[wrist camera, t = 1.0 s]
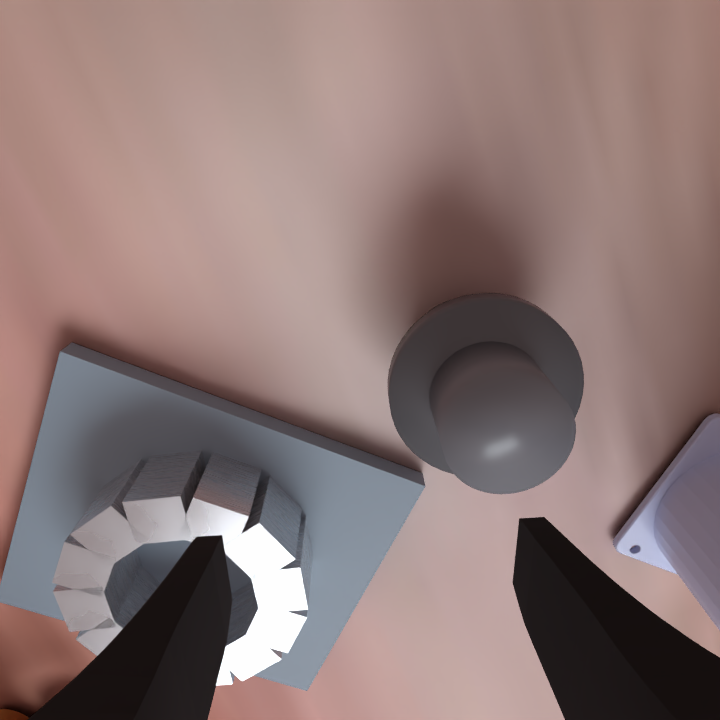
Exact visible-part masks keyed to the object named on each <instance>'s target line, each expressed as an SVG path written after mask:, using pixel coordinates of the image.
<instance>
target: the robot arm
mask: <svg viewBox="0 0 720 720" xmlns="http://www.w3.org/2000/svg"><path fill="white" fill-rule="evenodd" d="M613 545H614V547H615V549H616V550H617V551H618V552H619V553H621V554H624V555H627V556H629V557H632V558H635V559H637V560H640V561H643V562H645V563H648V564H651V565H654V566H656V567H659V568H662V569H664V570H667V571H670V572H672V573H675V574H678V575H679V577H680V578H681V579H682V581H683V582H684V583H685V585H686V586H687V587H688V589H689V590H690V591H691V593H692V594H693V595H694V597H695V598H696V599H697V601H698V602H699V604H700V605H701V606H702V608H703V609H704V610H705V612H706V613H707V614H708V616H709V617H710V618H711V620H712V621H713V622H714V624H715V625H716V626H717V628H718V629H719V630H720V414H718V413H716V414H711V415H709V416H708V417H707V418H705V419H704V421H703V422H702V423H701V425H700V426H699V427H698V429H697V430H696V431H695V433H694V434H693V435H692V436H691V438H690V439H689V440H688V442H687V443H686V444H685V446H684V447H683V448H682V450H681V451H680V452H679V454H678V455H677V456H676V458H675V459H674V460H673V461H672V463H671V464H670V465H669V467H668V468H667V469H666V471H665V472H664V473H663V475H662V476H661V477H660V479H659V480H658V481H657V483H656V484H655V485H654V486H653V488H652V489H651V490H650V492H649V493H648V494H647V496H646V497H645V498H644V500H643V501H642V502H641V504H640V505H639V506H638V507H637V509H636V510H635V511H634V513H633V514H632V515H631V517H630V518H629V519H628V521H627V522H626V523H625V525H624V526H623V527H622V529H621V530H620V531H619V532H618V534H617V535H616V536H615V538H614V540H613ZM634 545H636V546H635V547H633V548H631V547H632V546H634ZM513 585H514V589H515V593H516V596H517V600H518V603H519V607H520V610H521V613H522V617H523V620H524V623H525V626H526V628H527V631H528V633H529V636H530V638H531V640H532V643H533V645H534V648H535V650H536V652H537V655H538V657H539V660H540V662H541V664H542V667H543V669H544V671H545V674H546V676H547V678H548V681H549V683H550V685H551V688H552V690H553V692H554V695H555V697H556V699H557V702H558V704H559V706H560V709H561V711H562V713H563V716H564V718H565V720H720V658H719V657H718V656H716V655H715V654H713V653H711V652H710V651H708V650H706V649H705V648H703V647H702V646H700V645H699V644H697V643H696V642H694V641H693V640H691V639H690V638H688V637H687V636H685V635H684V634H682V633H681V632H680V631H678V630H677V629H675V628H674V627H672V626H671V625H670V624H668V623H667V622H665V621H664V620H662V619H661V618H660V617H658V616H657V615H656V614H654V613H653V612H652V611H650V610H649V609H648V608H646V607H645V606H644V605H643V604H641V603H640V602H639V601H638V600H636V599H635V598H634V597H633V596H631V595H630V594H629V593H628V592H626V591H625V590H624V589H623V588H621V587H620V586H619V585H618V584H617V583H616V582H614V581H613V580H612V579H611V578H610V577H609V576H607V575H606V574H605V573H604V572H603V571H602V570H601V569H599V568H598V567H597V566H596V565H595V564H594V563H593V562H592V561H591V560H589V559H588V558H587V557H586V556H585V555H584V554H583V553H582V552H581V551H580V550H579V549H578V548H576V547H575V546H574V545H573V544H572V543H571V542H570V541H569V540H568V539H567V538H566V537H565V536H564V535H563V534H562V533H561V532H559V531H558V530H557V529H556V528H555V527H554V526H553V525H552V524H551V523H550V522H549V521H548V520H547V519H546V518H545V517H538V518H520V519H519V527H518V537H517V546H516V556H515V566H514V575H513ZM231 607H232V593H231V587H230V581H229V575H228V568H227V562H226V556H225V550H224V544H223V537H222V535H215V536H198V537H196V538H195V539H194V540H193V541H192V542H191V543H190V545H189V546H188V548H187V549H186V550H185V552H184V553H183V554H182V556H181V557H180V559H179V560H178V561H177V563H176V564H175V565H174V567H173V568H172V569H171V571H170V572H169V573H168V575H167V576H166V577H165V579H164V580H163V581H162V582H161V584H160V585H159V586H158V587H157V589H156V590H155V591H154V592H153V594H152V595H151V596H150V597H149V599H148V600H147V601H146V602H145V604H144V605H143V606H142V607H141V608H140V610H139V611H138V612H137V613H136V614H135V615H134V617H133V618H132V619H131V620H130V621H129V622H128V623H127V624H126V626H125V627H124V628H123V629H122V630H121V631H120V632H119V634H118V635H117V636H116V637H115V638H114V639H113V640H112V641H111V642H110V643H109V644H108V646H107V647H106V648H105V649H104V650H103V651H102V652H101V653H100V654H99V655H98V656H97V657H96V658H95V659H94V660H93V661H92V662H91V663H90V664H89V665H88V666H87V667H86V668H85V669H84V670H83V671H82V672H81V673H80V674H79V675H78V676H77V677H75V678H74V679H73V680H72V681H71V682H70V683H69V684H68V685H67V686H66V687H64V688H63V689H62V690H61V691H60V692H59V693H58V694H57V695H55V696H54V697H53V698H52V699H51V700H50V701H49V702H47V703H46V704H45V705H44V706H43V707H42V708H40V709H39V710H38V711H37V712H36V713H35V714H33V715H32V716H31V717H30V718H29V719H27V720H207V719H208V715H209V711H210V707H211V704H212V700H213V696H214V692H215V688H216V684H217V680H218V676H219V672H220V668H221V664H222V660H223V656H224V652H225V648H226V643H227V637H228V630H229V623H230V615H231Z"/></svg>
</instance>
